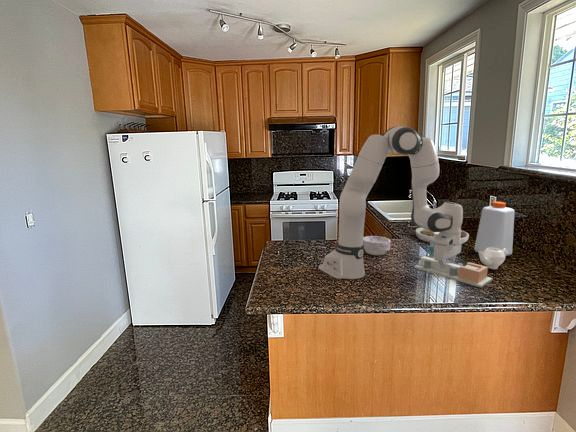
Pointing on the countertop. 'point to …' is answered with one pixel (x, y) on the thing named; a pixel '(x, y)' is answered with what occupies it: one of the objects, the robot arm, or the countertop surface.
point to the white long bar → (447, 265)
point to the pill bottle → (432, 245)
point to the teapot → (492, 257)
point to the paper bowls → (376, 245)
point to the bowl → (427, 235)
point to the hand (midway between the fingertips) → (446, 266)
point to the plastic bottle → (496, 228)
